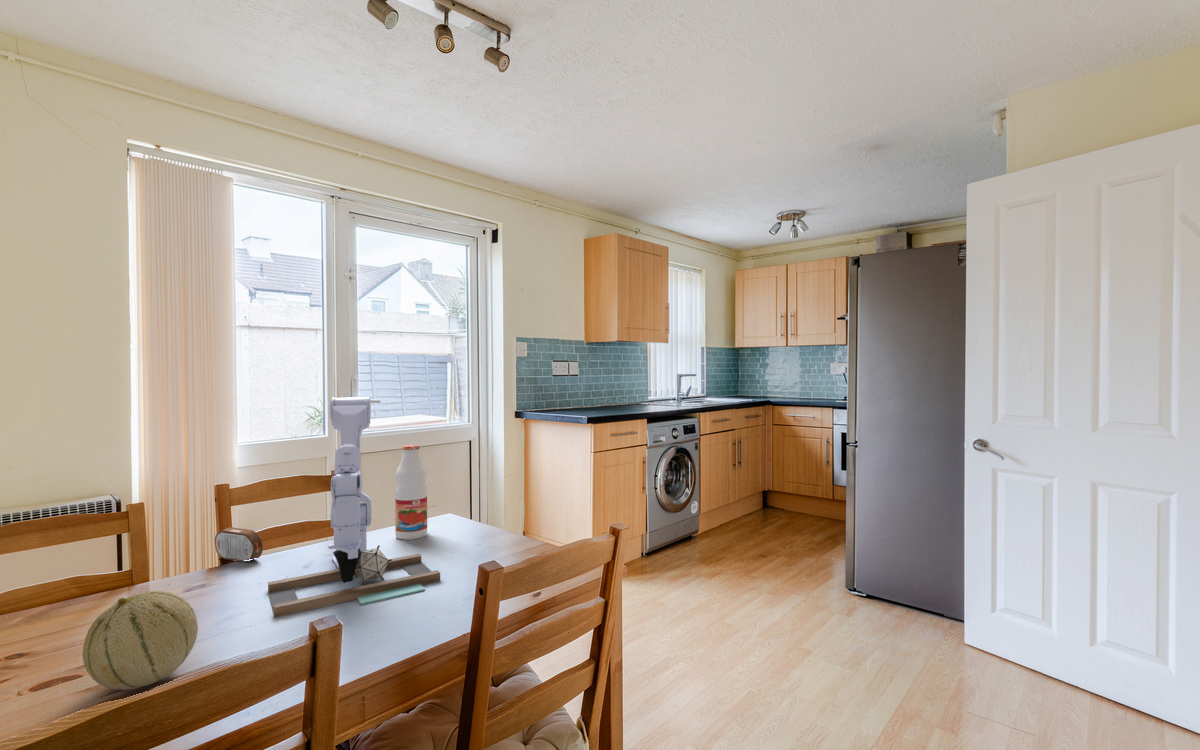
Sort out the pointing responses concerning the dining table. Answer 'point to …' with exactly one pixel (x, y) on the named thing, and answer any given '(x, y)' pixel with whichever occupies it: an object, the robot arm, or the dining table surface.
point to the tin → (238, 544)
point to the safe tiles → (390, 594)
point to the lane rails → (345, 594)
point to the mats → (291, 595)
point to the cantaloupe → (140, 640)
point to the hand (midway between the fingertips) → (347, 581)
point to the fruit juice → (410, 496)
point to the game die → (371, 565)
